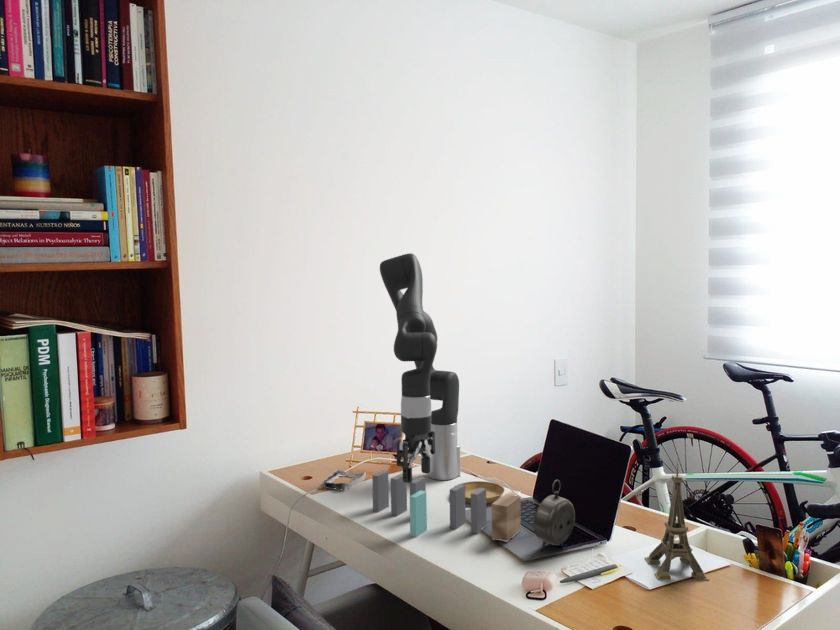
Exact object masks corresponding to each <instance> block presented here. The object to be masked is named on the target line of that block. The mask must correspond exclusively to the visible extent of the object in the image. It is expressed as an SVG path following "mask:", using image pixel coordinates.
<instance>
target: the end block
mask: <svg viewBox="0 0 840 630" xmlns="http://www.w3.org/2000/svg"><path fill="white" fill-rule="evenodd" d="M521 499H522V498H521V496H520V495H513V494H509V493H506V494H503V495H502V496H501V497H500V498H499V499H497V500H496V501H494V502H492V503H491V540H492V541H495V539H502V540H509V539H510V538H511V537H512V536H513V535H514V534H515V533H516V532H517V531H518V530H519V529H520V528H521V524H522V523H521V522H522V521H521V511H522V510H521V509H522V508H521V505H522V504H521ZM521 529H522V528H521Z"/></svg>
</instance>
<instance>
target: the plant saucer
mask: <svg viewBox="0 0 840 630" xmlns="http://www.w3.org/2000/svg"><path fill="white" fill-rule="evenodd" d="M460 484H462V485H465V503H468V504H471V493H472V492H474V491H475V490H477V489H479V488H484V489H486V505H487V504H492V503H494V502H495V501H496V500H498V499H499V498H501V497H502V496H503V495H504V493H505V490H506V489H505V488H504V487H503V486H502V485H500V484H498V483H496V482H491V481H480V480H479V481H476V480H475V481H466V482H462V483H460Z"/></svg>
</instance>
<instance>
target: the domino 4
mask: <svg viewBox="0 0 840 630" xmlns="http://www.w3.org/2000/svg"><path fill="white" fill-rule="evenodd" d="M427 516H428V514H427V490H426V491H421V490H420V491H418V492H416V493H415V494H413V495H411V496H410V495H409V532H410V534H409V536H410V537H414V538H417V537H419V536H421V535H422V534H423V533H425V532H426V531H428V518H427Z"/></svg>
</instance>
